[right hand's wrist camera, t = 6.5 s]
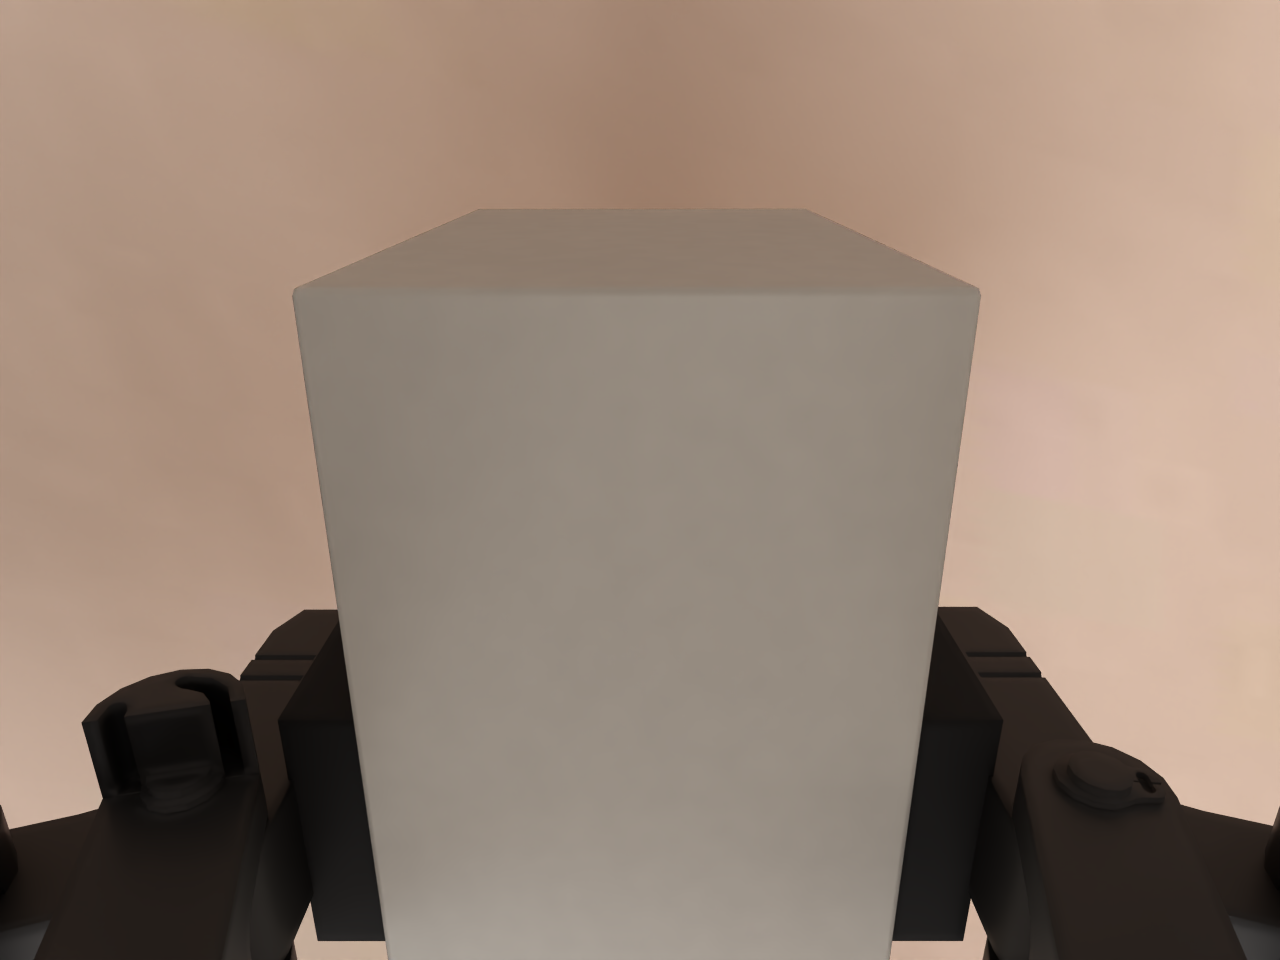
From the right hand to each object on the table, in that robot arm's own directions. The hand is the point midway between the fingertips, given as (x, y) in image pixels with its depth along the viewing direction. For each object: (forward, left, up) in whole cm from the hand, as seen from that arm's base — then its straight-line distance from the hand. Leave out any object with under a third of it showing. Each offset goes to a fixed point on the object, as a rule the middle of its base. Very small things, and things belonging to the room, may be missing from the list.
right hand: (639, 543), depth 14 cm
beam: (+35, +7, -1) cm, 36 cm away
